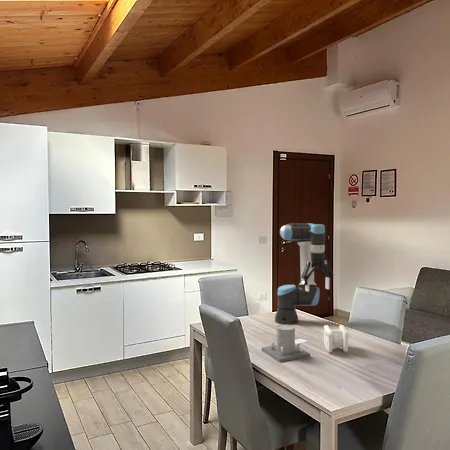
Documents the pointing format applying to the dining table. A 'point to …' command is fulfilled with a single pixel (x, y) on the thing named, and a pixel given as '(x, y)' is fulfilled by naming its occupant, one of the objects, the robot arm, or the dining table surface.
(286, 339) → the gray cylinder
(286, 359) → the pin tray
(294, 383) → the dining table surface
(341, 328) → the cable organizer
